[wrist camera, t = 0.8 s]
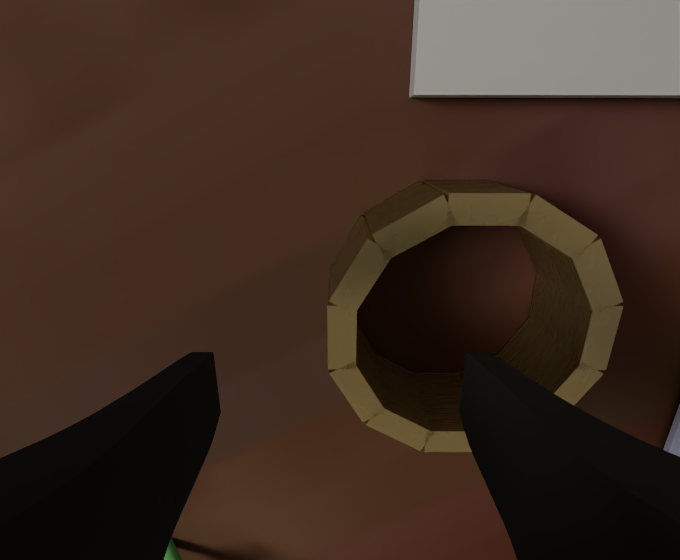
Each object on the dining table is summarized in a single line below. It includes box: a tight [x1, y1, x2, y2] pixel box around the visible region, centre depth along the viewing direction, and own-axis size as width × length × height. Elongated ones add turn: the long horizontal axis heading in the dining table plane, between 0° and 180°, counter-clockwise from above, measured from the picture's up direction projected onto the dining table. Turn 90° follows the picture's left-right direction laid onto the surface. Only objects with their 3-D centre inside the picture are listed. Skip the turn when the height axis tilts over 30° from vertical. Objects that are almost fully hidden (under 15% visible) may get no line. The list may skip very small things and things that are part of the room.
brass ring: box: [327, 180, 623, 452], centre depth 16 cm, size 10×10×4 cm
